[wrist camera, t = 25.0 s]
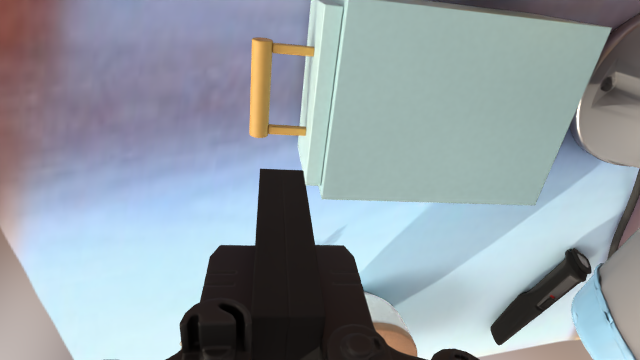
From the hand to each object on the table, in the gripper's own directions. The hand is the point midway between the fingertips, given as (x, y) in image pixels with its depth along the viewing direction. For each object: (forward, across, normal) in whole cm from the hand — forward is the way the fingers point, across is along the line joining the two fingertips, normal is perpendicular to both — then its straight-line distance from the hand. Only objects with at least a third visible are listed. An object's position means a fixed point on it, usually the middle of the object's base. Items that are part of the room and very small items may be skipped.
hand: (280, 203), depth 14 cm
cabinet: (+22, +12, 0) cm, 25 cm away
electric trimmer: (+23, +35, -26) cm, 49 cm away
